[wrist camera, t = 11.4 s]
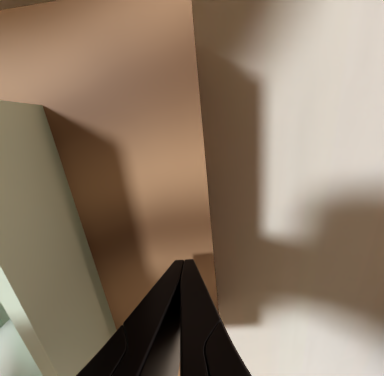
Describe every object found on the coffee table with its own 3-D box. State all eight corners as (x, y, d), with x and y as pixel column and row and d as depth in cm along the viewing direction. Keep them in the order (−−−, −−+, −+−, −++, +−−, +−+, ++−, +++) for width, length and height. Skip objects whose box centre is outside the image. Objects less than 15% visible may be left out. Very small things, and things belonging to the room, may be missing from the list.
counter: (217, 306, 17) (230, 439, 10) (70, 314, 18) (-16, 439, 11) (193, 43, 10) (183, -124, 3) (-34, 76, 11) (-413, -1, 4)
